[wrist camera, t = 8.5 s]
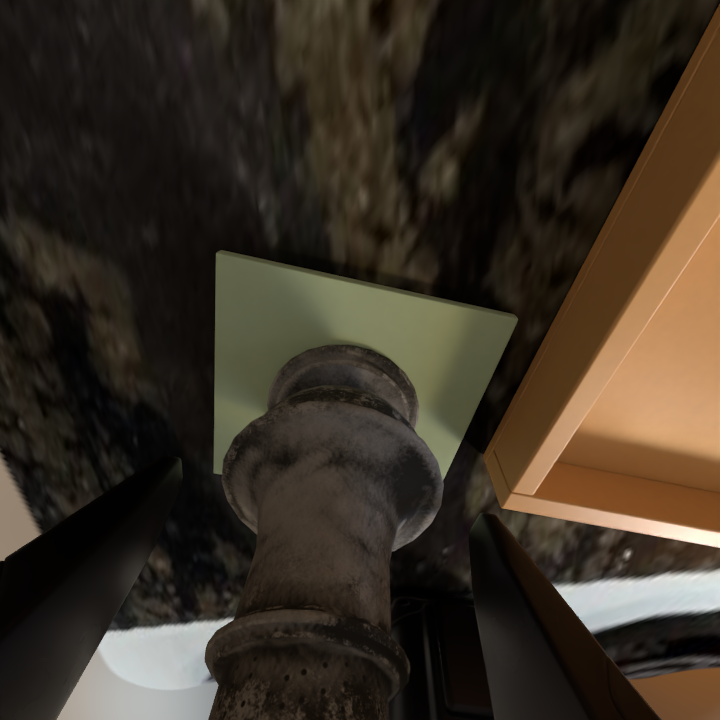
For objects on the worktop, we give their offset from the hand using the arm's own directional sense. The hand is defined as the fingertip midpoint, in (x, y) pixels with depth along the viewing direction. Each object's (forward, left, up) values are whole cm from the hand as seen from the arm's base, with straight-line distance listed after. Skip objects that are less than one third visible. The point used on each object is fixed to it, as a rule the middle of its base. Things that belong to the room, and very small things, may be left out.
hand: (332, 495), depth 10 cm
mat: (0, 0, -4) cm, 4 cm away
